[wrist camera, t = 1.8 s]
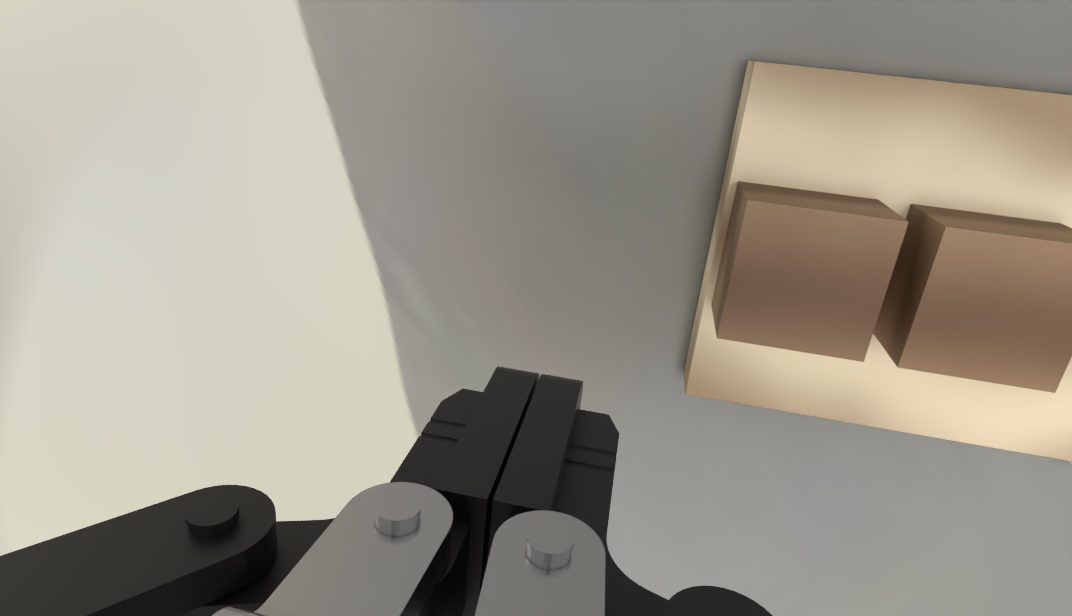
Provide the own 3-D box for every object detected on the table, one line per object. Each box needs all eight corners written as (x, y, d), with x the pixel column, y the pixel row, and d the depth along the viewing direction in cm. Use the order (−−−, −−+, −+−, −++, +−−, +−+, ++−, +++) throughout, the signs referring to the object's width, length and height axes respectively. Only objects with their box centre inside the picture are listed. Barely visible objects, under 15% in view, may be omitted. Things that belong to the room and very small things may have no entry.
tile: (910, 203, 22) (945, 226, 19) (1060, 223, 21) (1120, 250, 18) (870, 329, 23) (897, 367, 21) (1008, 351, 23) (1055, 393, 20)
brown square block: (737, 181, 22) (747, 200, 20) (878, 199, 22) (908, 221, 19) (711, 304, 24) (716, 338, 21) (840, 324, 23) (864, 362, 21)
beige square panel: (747, 60, 23) (755, 61, 21) (1203, 108, 21) (1254, 114, 19) (684, 370, 27) (685, 393, 25) (1052, 433, 25) (1082, 463, 24)
